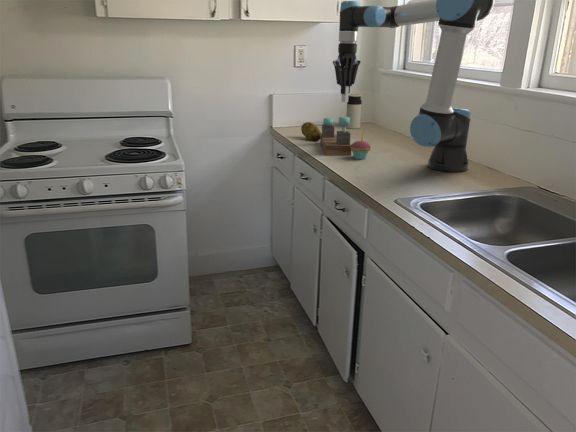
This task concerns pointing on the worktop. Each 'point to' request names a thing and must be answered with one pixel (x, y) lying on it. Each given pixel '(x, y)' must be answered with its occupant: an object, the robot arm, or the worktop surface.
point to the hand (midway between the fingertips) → (344, 101)
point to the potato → (310, 131)
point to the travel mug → (354, 111)
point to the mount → (335, 141)
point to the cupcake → (360, 148)
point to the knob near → (344, 123)
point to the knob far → (328, 121)
